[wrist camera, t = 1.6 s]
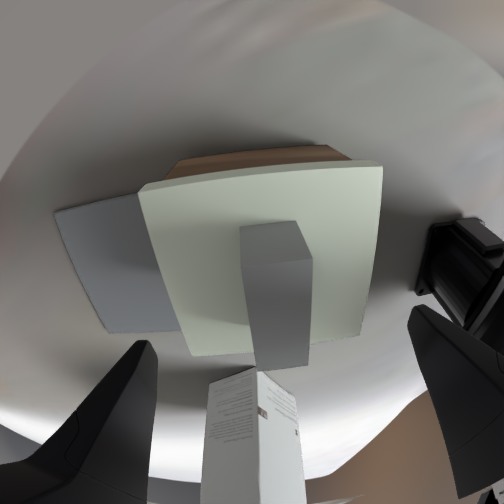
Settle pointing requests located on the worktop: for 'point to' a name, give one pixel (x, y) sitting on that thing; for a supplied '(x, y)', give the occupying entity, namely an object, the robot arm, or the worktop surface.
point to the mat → (118, 265)
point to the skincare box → (251, 443)
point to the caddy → (254, 159)
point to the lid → (267, 255)
